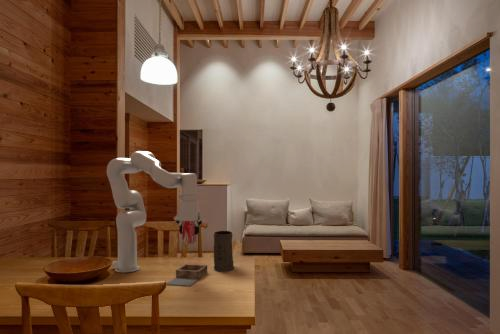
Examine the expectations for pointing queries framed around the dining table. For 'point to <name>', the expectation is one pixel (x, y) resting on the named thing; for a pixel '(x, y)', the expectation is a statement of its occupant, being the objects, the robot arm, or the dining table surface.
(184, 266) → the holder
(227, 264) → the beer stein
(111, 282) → the dining table surface
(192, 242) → the soda can
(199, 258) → the dining table surface
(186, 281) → the mat
